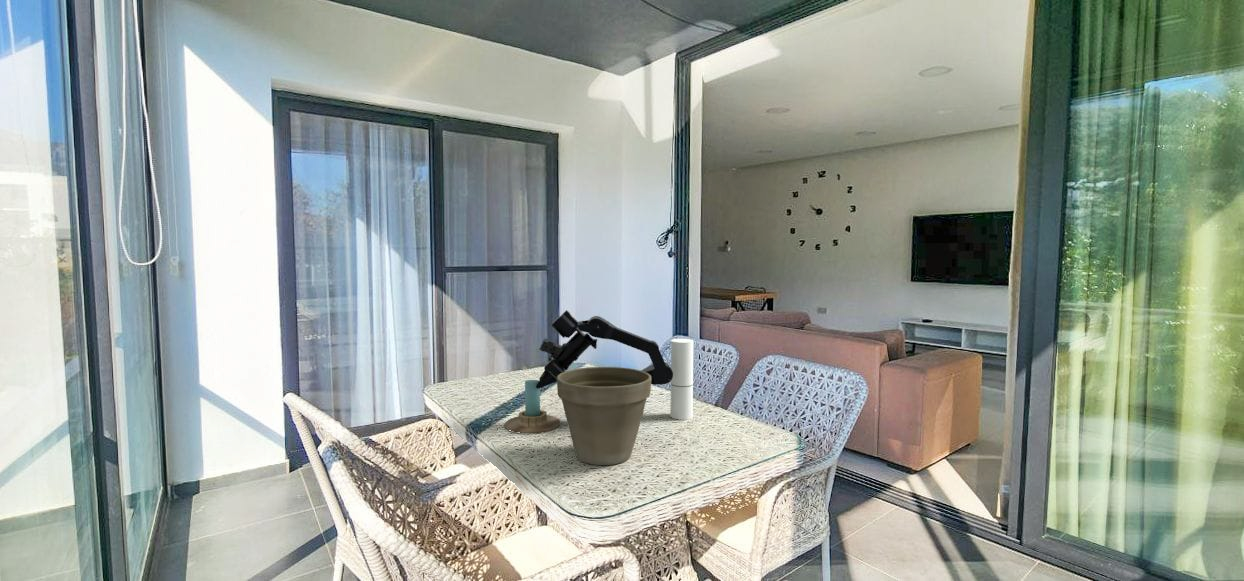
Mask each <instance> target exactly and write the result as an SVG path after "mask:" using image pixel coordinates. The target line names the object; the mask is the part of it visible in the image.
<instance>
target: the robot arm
mask: <svg viewBox="0 0 1244 581" xmlns="http://www.w3.org/2000/svg"><path fill="white" fill-rule="evenodd" d="M550 327H552V328H553V329H554V331H555V332H557V333H558V334H559V336H561V337H562V338H563V339H565V338H567V339H569V338H570V337H571V336H572V337H571V338H570V339H569V340H567V342H565V343H564V342H563V343H562V345H561V344H559V343H557V342H556V341H552V340H550V339H548V338H544V339H543V340H542V342H541V344H540V347H539V351H541V352H544V353H547V354H550V355H549V357H548V361H547V363H546V364H545V366H544V370H543V372H542V374H541V375H540V377H539V378H538V380H539V382H538V383H537V385H536V388H537V389H539V388H540V389H542V388H544V387H546V386H549V385H551V384H554V383H557V376H558V375H559V374H561V373H563V372H566V371H568V369H569V368H570V366H571V365H572V364H574V363H575V362H577V361H578V359H579V357H580V356H581V355H582V354H584V352H586V350H588V348H589V347H590V346H591V347H592V348H593V349H594V350H595V349H598V348H597V347H598V346H597V342H598V339H604V340H612V341H615V342H618V343H620V344H624V345H626V346H627V347H631V348H633V349H636V350H638V351H641V352H643V353H646V354H648V356H649V359H650V361H651V363H652V364H651V365H649V366H646V367H645V368H643V369H640V371H644V372H646V373H648V374H650V375H651V378H652V379H651V385H659V386H660V385H667V384H670V383H671V380H672V378H673V372H672V369H671V365H670V364H669V363H667V362H666V361H665V360H664V358H663V357H664V356H662V354H661V351H660V347H659V344H658V343H657V342H656V341H655V340H650V339H648V338H645V337H643V336H640V335H638V334H635V333H632V332H629V331H627V330H624V329H621V327H617V326H616V325H614V324H612V323H611V322H610V321H609V320H606V319H605V318H603V317H602V316H600V315H593V316H591V317H590V318H589V319H587V320H581V321H579V320H577V319H576V318H575V317H573V315H572V314H571V312H569V311H568V310H567V309H566V310H565V311H564V312H563V313H562V314H560V315H559V316H558V317H557V318H556V319H555V320H554V321H553V322H551V324H550ZM573 334H574V335H573ZM593 337H594V338H593Z"/></svg>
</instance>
